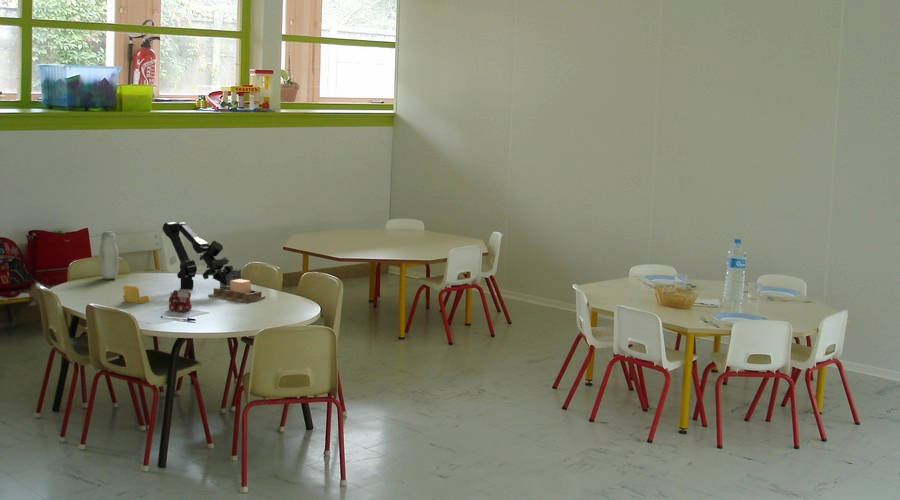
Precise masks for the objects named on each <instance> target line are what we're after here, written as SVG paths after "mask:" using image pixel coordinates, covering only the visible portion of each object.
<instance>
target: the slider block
mask: <svg viewBox="0 0 900 500" xmlns="http://www.w3.org/2000/svg"><path fill="white" fill-rule="evenodd" d="M251 287H252V285H251V280H249V279H242V278H241V279H237V280H232V281H230V291H235V292H240V293H246V294H251V290H252V289H251Z"/></svg>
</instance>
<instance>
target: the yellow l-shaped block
mask: <svg viewBox="0 0 900 500" xmlns="http://www.w3.org/2000/svg"><path fill="white" fill-rule="evenodd" d="M122 290H123V296H122V298H123V301H124V302H125V301H126V303H127V302H128V303H135V304H144V303H147V302H150V300H149V296H148V295H144V296H143V295H142V296H141V295H140V293H139V288H138V287H137V286H134V285H127V284H125V285H124V286H123V287H122Z"/></svg>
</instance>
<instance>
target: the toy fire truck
mask: <svg viewBox="0 0 900 500" xmlns="http://www.w3.org/2000/svg"><path fill="white" fill-rule="evenodd" d="M191 294H192V293H191V292H190V291H184V290H183V291H182V290H176V289H174V290H173V292H172V293H171V294H170V296H169V298H168V309H169V312H176V311H178V312H179V313H182V314H183V313H184V312H185V311H190V310H192V308H193V305H192V303H191V297H192V295H191Z"/></svg>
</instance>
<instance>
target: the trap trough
mask: <svg viewBox="0 0 900 500" xmlns="http://www.w3.org/2000/svg"><path fill="white" fill-rule="evenodd" d="M207 296H208V297H209V298H214V297H215V298H216V299H221V300H227V301H231V302H232V301H233V302H239V303H244V304H246V303H250V302H254V301H259V300H263V299H266V296H265V295H262V291H260V290H254V289H251V294H246V293H240V292H235V291H230V286H225V289H224V288H216V287H215V288H213V293H210V294H209V293H208V294H207ZM215 298H214V299H215Z"/></svg>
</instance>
